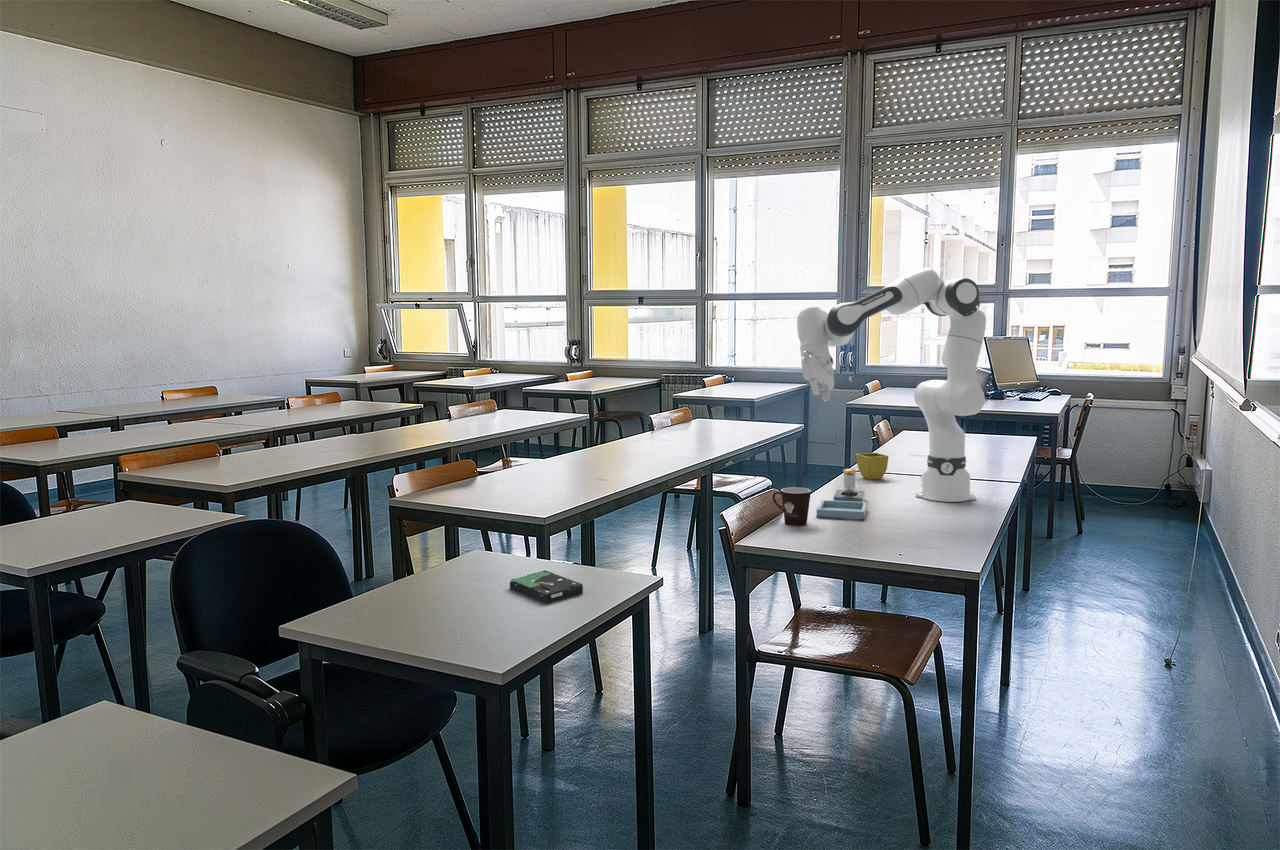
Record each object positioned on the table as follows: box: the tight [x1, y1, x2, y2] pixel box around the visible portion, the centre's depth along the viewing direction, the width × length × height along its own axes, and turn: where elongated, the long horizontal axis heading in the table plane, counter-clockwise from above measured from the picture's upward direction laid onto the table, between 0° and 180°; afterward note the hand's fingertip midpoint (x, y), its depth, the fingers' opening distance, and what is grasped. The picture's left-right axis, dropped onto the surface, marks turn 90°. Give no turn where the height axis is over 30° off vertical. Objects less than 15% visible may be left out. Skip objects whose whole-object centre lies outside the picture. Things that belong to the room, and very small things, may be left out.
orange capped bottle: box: [842, 468, 857, 496], centre depth 276 cm, size 4×4×11 cm
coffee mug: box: [772, 487, 812, 527], centre depth 251 cm, size 12×9×10 cm
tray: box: [816, 499, 868, 520], centre depth 261 cm, size 14×14×2 cm
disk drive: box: [509, 570, 584, 605], centre depth 192 cm, size 10×3×15 cm
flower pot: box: [855, 452, 889, 480], centre depth 317 cm, size 9×9×9 cm
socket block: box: [833, 489, 866, 502], centre depth 276 cm, size 12×9×3 cm
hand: (821, 397), depth 268 cm, fingers open, 8 cm apart
